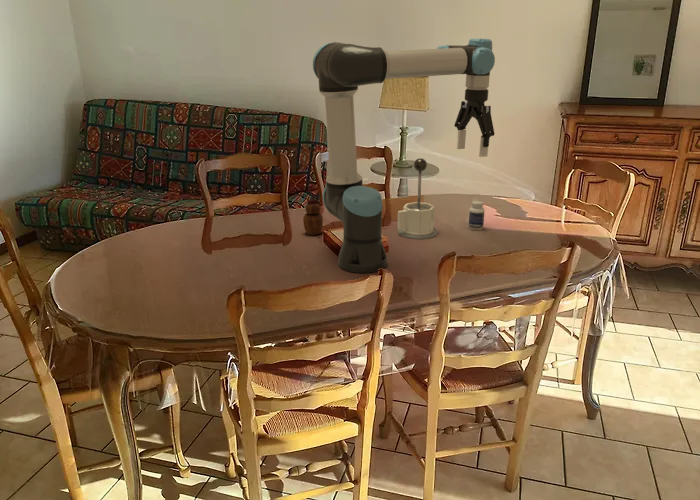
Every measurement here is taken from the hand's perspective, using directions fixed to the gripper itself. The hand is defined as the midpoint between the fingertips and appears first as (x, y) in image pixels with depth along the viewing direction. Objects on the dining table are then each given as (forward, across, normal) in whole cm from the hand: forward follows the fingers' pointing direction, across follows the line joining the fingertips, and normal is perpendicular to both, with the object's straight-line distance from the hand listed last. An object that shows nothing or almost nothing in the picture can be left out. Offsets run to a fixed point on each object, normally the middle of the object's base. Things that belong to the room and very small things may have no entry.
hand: (471, 152), depth 201 cm
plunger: (+20, +5, +17) cm, 27 cm away
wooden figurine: (+29, +19, +51) cm, 62 cm away
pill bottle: (+28, +1, -5) cm, 29 cm away
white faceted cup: (+28, +5, +16) cm, 33 cm away
